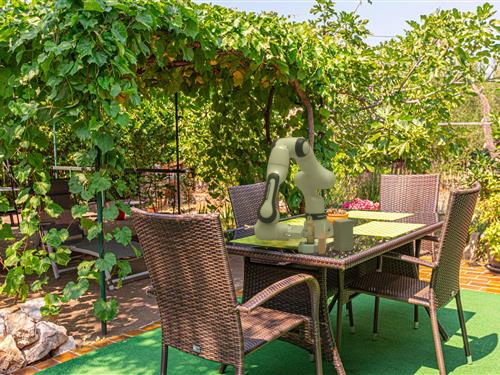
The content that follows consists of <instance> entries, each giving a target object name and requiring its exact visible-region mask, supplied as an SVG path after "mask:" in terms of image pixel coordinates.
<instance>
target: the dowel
mask: <svg viewBox="0 0 500 375" xmlns="http://www.w3.org/2000/svg"><path fill="white" fill-rule="evenodd" d="M309 231H312V235H308V236H307V237H306V241H307V244H315V241H316V240H315V239H316V238H315V221H313V220H308V221H307V232H309Z"/></svg>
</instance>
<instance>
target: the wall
mask: <svg viewBox="0 0 500 375" xmlns="http://www.w3.org/2000/svg"><path fill="white" fill-rule="evenodd" d="M317 242H318V252H317V253H318V255H326V250H327V238H326V232H320V235H319V238H317Z"/></svg>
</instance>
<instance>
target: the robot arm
mask: <svg viewBox="0 0 500 375" xmlns="http://www.w3.org/2000/svg"><path fill="white" fill-rule="evenodd" d="M270 151H271V152H270V154H269V157H268V162H267V168H266V183H265V188H264V194H263V198H262V201H261V203H260V204H259V206H258V207H257V210H256V217H257V221H256V223H255V224H254V225H253V234H254V236H255V238H256V239H257V240H260V241H266V242H267V241H269V242H270V241H271V242H272V241H277V242H289V241H290V240H302V239H303V237H304V238H307V236H308V235H312V231H309V232H307V221H308V220H313V221H315V239H318V238H319V235H320V232H326V239H327V238H328V239H329V238H332V237H333V223H332V222H330V221H329V219H327V217H328V216H329V214H330V213H329V212H327V211H326V212H325V208H326V207H325V199H324V197H323V196H321V195H320V194H319V193H318V191H317V190H327V189H332V188H334V186H335V185H336V181H337V178H336V174H335V173H334V172H333V171H331V170H329V169H327V168H326V167H324V166H323V165H322V164H321V163H320V162H319V161H318V159H317V157H316V155H315V153H314V150H313V148H312V146H311V145H310V143H309V140H308V139H306V138H305V137H301V136H298V137H282V138H281V137H280V138H279V137H278V138H275V139H274V140H273V141H272V142H271V145H270ZM291 158H292V159H293V158H294V161H295V162H296V164H297V166H298V169H299V170H300V171H297V172H296V173H295V175H294V178H293V182H294V184H295V186H296V187H297V188H298V189H299V190H300V191H301V193H302V195H303V198H304V202H305V203H304V204H305V212H304V218H305V220H304V221H303V225H298V224H291V223H279V222H280V220H279V219H280V217H281V216H280V215H281V214H280V211H279V210H278V208H277V206H276V200H277V195H278V190H279V187H280V185H281V184H282V183H284V182H285V181H286V179H287V176H288V174H289V173H288V172H289V166H290V159H291Z"/></svg>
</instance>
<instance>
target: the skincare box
mask: <svg viewBox="0 0 500 375" xmlns="http://www.w3.org/2000/svg"><path fill="white" fill-rule="evenodd" d="M332 225H333V236H332V237H333V238H332V239H333V251H337V252H339V253H345V252H350V251H351V252H352V251H354V220H353V219H350V218H341V219H334V220H332Z"/></svg>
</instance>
